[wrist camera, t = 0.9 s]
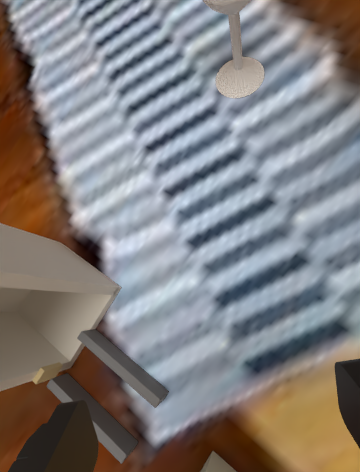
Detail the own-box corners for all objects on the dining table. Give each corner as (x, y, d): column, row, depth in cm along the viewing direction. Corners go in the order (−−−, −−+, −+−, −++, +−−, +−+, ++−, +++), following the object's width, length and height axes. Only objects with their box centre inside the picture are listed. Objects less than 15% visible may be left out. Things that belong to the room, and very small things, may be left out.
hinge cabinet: (60, 242, 41) (-107, 189, 22) (197, 344, 33) (114, 396, 14) (7, 324, 40) (-214, 341, 21) (133, 449, 32) (-46, 655, 13)
